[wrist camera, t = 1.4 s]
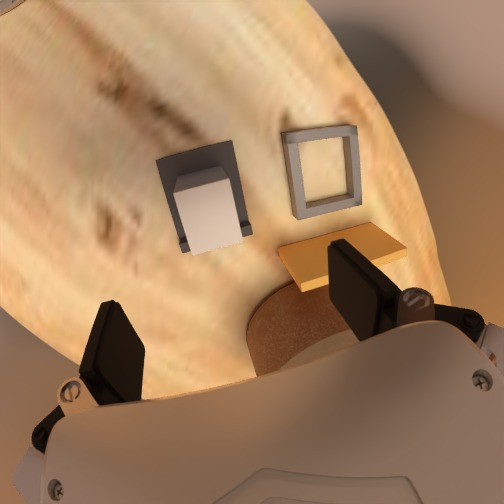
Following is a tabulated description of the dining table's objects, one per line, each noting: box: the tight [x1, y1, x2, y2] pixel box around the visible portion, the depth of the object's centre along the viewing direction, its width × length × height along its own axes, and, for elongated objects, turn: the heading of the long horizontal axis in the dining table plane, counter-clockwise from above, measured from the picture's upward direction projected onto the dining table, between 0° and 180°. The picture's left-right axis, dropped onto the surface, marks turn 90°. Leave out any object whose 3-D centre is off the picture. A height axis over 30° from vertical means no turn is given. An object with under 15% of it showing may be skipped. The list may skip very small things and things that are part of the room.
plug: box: [173, 166, 243, 256], centre depth 22 cm, size 5×4×6 cm
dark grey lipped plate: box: [156, 140, 253, 253], centre depth 24 cm, size 9×7×2 cm
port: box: [278, 125, 407, 292], centre depth 24 cm, size 13×12×7 cm
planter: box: [247, 282, 360, 377], centre depth 30 cm, size 16×16×14 cm
